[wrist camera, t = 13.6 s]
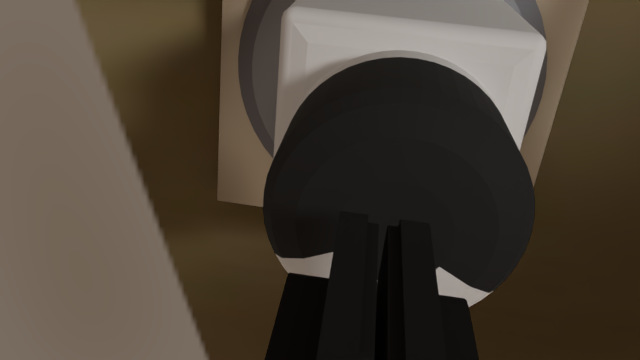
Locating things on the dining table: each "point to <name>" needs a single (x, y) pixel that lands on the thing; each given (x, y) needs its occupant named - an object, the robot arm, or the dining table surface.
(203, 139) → the dining table surface
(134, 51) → the dining table surface
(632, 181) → the dining table surface
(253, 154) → the board
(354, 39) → the medicine bottle
